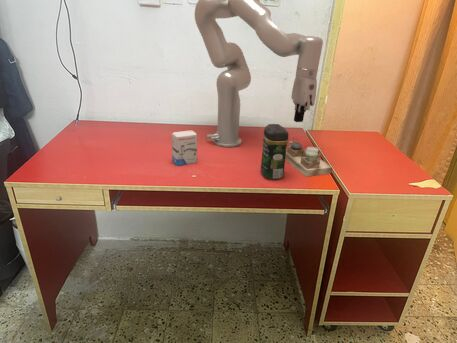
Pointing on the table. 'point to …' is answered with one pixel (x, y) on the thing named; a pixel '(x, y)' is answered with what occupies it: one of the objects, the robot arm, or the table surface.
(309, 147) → the white button
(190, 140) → the ink box
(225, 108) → the robot arm
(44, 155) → the table surface
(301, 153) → the switch board
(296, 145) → the charcoal button
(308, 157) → the sage button
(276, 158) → the coffee jar
